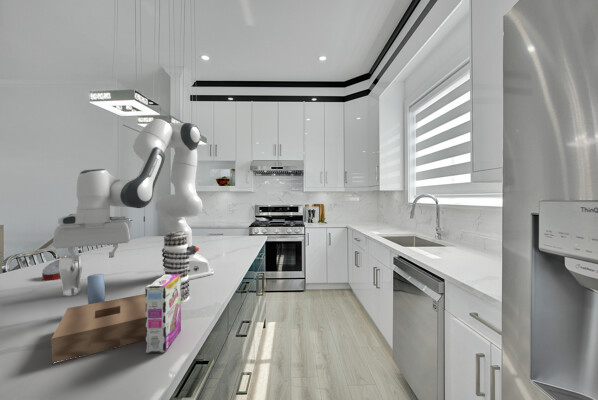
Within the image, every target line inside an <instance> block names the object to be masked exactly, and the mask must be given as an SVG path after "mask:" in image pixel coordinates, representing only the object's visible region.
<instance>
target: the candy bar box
mask: <svg viewBox="0 0 598 400" xmlns="http://www.w3.org/2000/svg"><path fill="white" fill-rule="evenodd" d="M144 289H145V290H144V291H145V293H144V294H146V340H145V353H146V354H158V353H159V354H161V353H162V354H163V353H166V352H167V351H168V350H169V348H170V346H171V345H172V343H174V341H175V339H176V338H177V336H178V335H179V334H180V333H181V331H182V313H181V311H182V310H181V309H182V305H181V304H182V303H181V274H166V275H165V274H163V275H161V276H160V277H159V278H157V279H155V280H154V281H152V282H151V283H150V284H148V285H147V286H145V287H144Z"/></svg>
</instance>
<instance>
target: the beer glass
mask: <svg viewBox="0 0 598 400" xmlns="http://www.w3.org/2000/svg"><path fill="white" fill-rule="evenodd" d="M75 254H76V253H75ZM76 255H79V261H73V256H72V255H71V254H68V255H63V256H60V257H59V259H60V260H59V259H58V260H59V273H60V277H61V279H60V280H61V283H62V285H61V286H62V288H61V289H62V290H61V297H63V298H66V297H72V296H73V297H74V296H77V295H79V294H81V293H82V288H81V278H82V271H83V260H82V255H81V254H78V253H77V254H76Z"/></svg>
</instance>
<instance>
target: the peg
mask: <svg viewBox="0 0 598 400" xmlns="http://www.w3.org/2000/svg"><path fill="white" fill-rule="evenodd" d="M86 278H87V279H86V281H87V304H93V303H98V302H104V301H106V295H105V293H106V292H105V291H106V288H105V274H104V273H95V274H91V275H88V276H87V277H86Z"/></svg>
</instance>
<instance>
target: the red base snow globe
mask: <svg viewBox="0 0 598 400" xmlns="http://www.w3.org/2000/svg"><path fill="white" fill-rule="evenodd" d="M59 260H60V258H58V259H57V260H54V261H52V262H50V263H49V264H48V265H46V266H44V268H43V269H42V273H41V275H42V278H41V279H42V281H47V282H48V281H57V280H61V277H60V273H59Z"/></svg>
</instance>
